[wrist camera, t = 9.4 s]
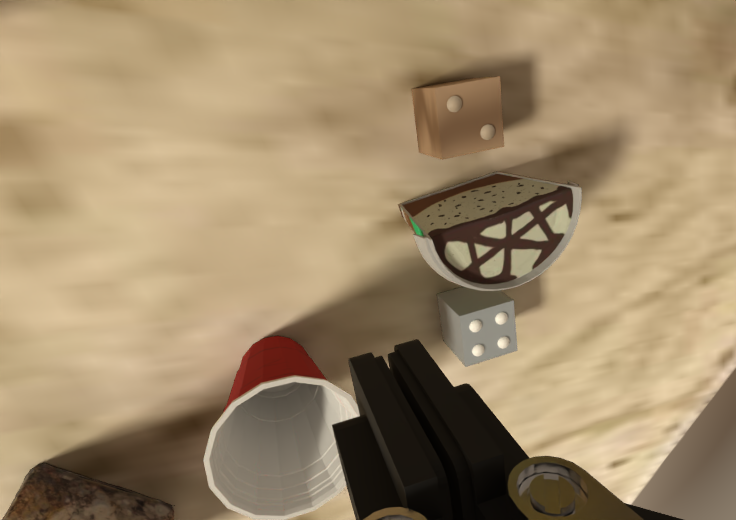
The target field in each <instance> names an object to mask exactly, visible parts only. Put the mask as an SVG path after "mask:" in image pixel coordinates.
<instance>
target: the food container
mask: <svg viewBox="0 0 736 520" xmlns="http://www.w3.org/2000/svg"><path fill="white" fill-rule="evenodd" d="M581 201H582V188H581V187H579V185H578V184H576V183H574V182H572V181H568V184H563V183H557V182H552V181H547V180H541V179H536V178H531V177H525V176H520V175H514V174H509V173H504V172H498V171H496V172H493V173H490V174H487V175H484V176H481V177H478V178H475V179H472V180H469V181H466V182H463V183H460V184H457V185H454V186H451V187H448V188H445V189H442V190H439V191H436V192H433V193H430V194H427V195H424V196H421V197H418V198H415V199H412V200H409V201H406V202H403V203H400V204H398V206H399V208H400V211H401V214H402V217H403V218H404V220H405V221H406V222H407V224H408V225H409V227H410V228H411V229H412V231H413V232H414V233H415V234H413V236H414V239H415V241H416V244H417V247H418V249H419V251H420V253H421V254H422V256H423V258H424V259H425V261H426V262H427V263H428V264H429V266H430V267H431V268H432V269H433V270H434V271H436V272H437V273H438V274H439V275H440V276H442V277H444V278H445V279H447V280H449V281H451V282H453V283H456V284H458V285H461V286H464V287H467V288H470V289H475V290H480V291H498V290H505V289H510V288H514V287H517V286H520V285H523V284H525V283H527V282H529V281H531V280H533V279H534V278H536V277H537V276H539V275H541V274H542V273H543V272H544V271H545V270H547V269H548V268H549V267H550V266H551V265H552V264H553V263H554V262H555V261H556V260H557V259H558V258H559V256H560V255H561V254H562V252H563V251H564V249H565V248H566V247H567V245H568V243H569V241H570V239H571V237H572V236H573V233H574V231H575V228H576V225H577V222H578V219H579V215H580V210H581Z"/></svg>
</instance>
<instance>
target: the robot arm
mask: <svg viewBox="0 0 736 520" xmlns="http://www.w3.org/2000/svg"><path fill="white" fill-rule="evenodd" d="M394 350H395V352H393V353H390V354H388V361H389V367H390V369H389V368H388V366H387V364H386V362H385V360H384V359H383V357H382V356H379V357H376V358H374V356H373V354H372V353H371V352H370V353H367V354H363V355H360V356H356V357H353V358H349V366H350V371H351V376H352V381H353V386H354V390H355V395H356V400H357V405H358V409H359V414H360V416H358V417H355V418H352V419H349V420H345V421H342V422H339V423H336V424H332V428H333V433H334V437H335V441H336V445H337V450H338V454H339V458H340V462H341V466H342V470H343V474H344V477H345V481H346V485H347V489H348V492H349V496H350V499H351V503H352V507H353V510H354V514H355V517H356V520H683V519H679V518H676V517H672V516H669V515H665V514H661V513H657V512H654V511H651V510H647V509H643V508H640V507H636V506H633V505H629V504H626V503H623V502H622V501H621V500H620V499H619V498H617V497H616V496H615V495H614V494H613V493H611V492H610V491H609V490H608V489H607V488H605V487H604V486H603V485H602V484H601V483H599V482H598V481H597V480H596V479H595V478H593V477H592V476H591V475H590V474H589V473H588V472H586V471H585V470H584V469H582V468H581V467H579V466H578V465H576V464H575V463H573V462H570V461H567V460H565V459H562V458H558V457H551V456H538V457H532V458H529V457H528V456H527V454H526V453H525V452H524V451H523V450H522V448H521V447H520V446H519V445H518V443H517V442H516V441H515V440H514V438H513V437H512V436H511V435H510V433H509V432H508V431H507V430H506V428H505V427H504V426H503V425H502V424H501V422H500V421H499V420H498V419H497V417H496V416H495V415H494V414H493V412H492V411H491V410H490V409H489V407H488V406H487V405H486V404H485V403H484V401H483V400H482V399H481V398H480V396H479V395H478V394H477V393H476V391H475V390H474V389H473V388H472V387H471V386H470V385H469V384H463V385H459V386H456V387H453V386H452V384H451V383H450V382H449V380H448V379H447V377H446V376H445V375H444V373H443V372H442V371H441V369H440V368H439V367H438V365H437V364H436V363H435V361H434V360H433V359H432V357H431V356H430V355H429V353H428V352H427V351H426V349H425V348H424V347H423V345H422V344H421V343H420V341H419V340H417V339H416V340H413V341H409V342H406V343H402V344H399V345H395V347H394Z"/></svg>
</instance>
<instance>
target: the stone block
mask: <svg viewBox="0 0 736 520" xmlns="http://www.w3.org/2000/svg"><path fill="white" fill-rule="evenodd" d="M174 506H175V505H174ZM2 520H174V511H173V508H172V505H169V504H167V503H164V502H162V501H160V500H157V499H153V498H150V497H147V496H144V495H142V494H139V493H136V492H133V491H130V490H127V489H124V488H121V487H118V486H114V485H110V484H107V483H104V482H100V481H97V480H94V479H91V478H87V477H84V476H81V475H78V474H75V473H72V472H69V471H66V470H62V469H58V468H56V467H53V466H51V465H48V464H46V463H43V464H39V465H37V466H35V467H34V468H32V469H31V470H30V471H29V473H28V474H27V475H26V476H25V479H24V481H23V483H22V485H21V487H20V489H19V491H18V492H17V494H16V496H15V499H14V500H13V502H12V504H11V506H10V507H9V509H8V511H7V513H6V514H5V516H4V517H3V519H2Z"/></svg>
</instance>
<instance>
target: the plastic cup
mask: <svg viewBox="0 0 736 520" xmlns="http://www.w3.org/2000/svg"><path fill="white" fill-rule="evenodd" d="M358 416H360V414H359V409H358V406H357V404H356V402H355V401H354V399H353V398H352V396H351V395H350V394H348V393H347V392H345V391H343V390H342V389H340V388H338V387H337V386H335V385H333V384H332V383H330V382H328V381H327V380H326V378H325V377H324V376H323V374H322V373H321V371H320V370H319V369H318V367H317V366H316V364H315V363H314V362H313V360H312V359H311V358H310V357H309V356H308V354H307V353H306V351H305V350H304V348H303V347H302V346H301V345H300V344H298V343H297V342H295V341H294V340H292V339H290V338H287V337H281V336H273V337H268V338H263V339H262V340H260V341H258V342H257V343H255V344H253V345H252V346H251V347H250V349H249V350H248V351H247V352H246V354H245V355H244V356H243V358H242V362H241V365H240V368H239V370H238V371H237V374H236V377H235V380H234V384H233V387H232V390H231V393H230V397H229V400H228V403H227V406H226V407H225V409H224V412H223V414H222V415H221V417H220V418H219V419H218V421H217V422H216V423H215V424H214V426H213V427H212V429H211V432H210V436H209V440H208V444H207V447H206V451H205V455H204V459H203V462H204V466H205V471H206V475H207V480H208V485H209V488H210V489H211V490H212V491H213V493H214V494H215V495H216V496H217V497H218V498H219V499H220V501H221V502H222V503H223V504H224V505H225V506H226V507H227V508H228V509H230V510H233V511H235V512H237V513H240V514H242V515H245V516H247V517H249V518H252V519H262V520H286V519H289V518H292V517H295V516H298V515H302V514H305V513H308V512H311V511H314V510H316V509H317V508H319V507H320V506H322V505H323V504H325V503H326V502H328V501H329V500H331V499H332V498H334V497H335V496H336V495H338V494H339V493H341V491H342V490H343V489H344V488H345V486H346V481H345V477H344V474H343V470H342V466H341V462H340V458H339V454H338V450H337V445H336V441H335V437H334V433H333V428H332V424H336V423H339V422H342V421H345V420H349V419H352V418H355V417H358Z"/></svg>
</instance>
